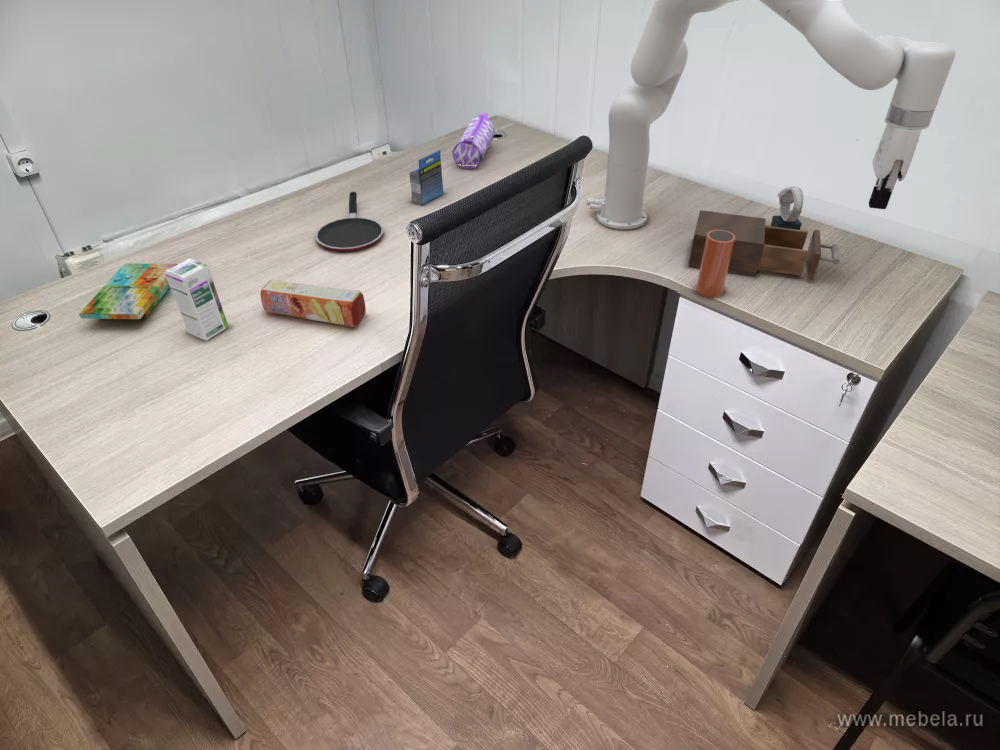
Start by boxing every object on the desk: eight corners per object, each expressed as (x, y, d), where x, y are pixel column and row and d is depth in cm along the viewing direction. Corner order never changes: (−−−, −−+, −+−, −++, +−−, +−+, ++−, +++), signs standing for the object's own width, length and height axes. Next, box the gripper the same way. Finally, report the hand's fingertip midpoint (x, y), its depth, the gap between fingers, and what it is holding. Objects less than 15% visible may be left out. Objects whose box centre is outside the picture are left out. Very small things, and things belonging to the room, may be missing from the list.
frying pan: (322, 204, 180) (319, 192, 178) (383, 200, 182) (382, 188, 180) (313, 256, 159) (311, 243, 156) (384, 250, 160) (382, 238, 158)
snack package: (262, 316, 139) (254, 288, 135) (279, 299, 144) (272, 271, 140) (355, 332, 134) (350, 304, 130) (369, 314, 139) (365, 286, 135)
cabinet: (757, 250, 158) (765, 218, 153) (755, 276, 149) (764, 244, 144) (693, 241, 162) (699, 210, 157) (688, 266, 153) (694, 234, 148)
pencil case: (482, 172, 196) (481, 139, 190) (451, 170, 197) (449, 137, 191) (495, 144, 212) (495, 113, 206) (466, 142, 214) (465, 112, 208)
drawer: (832, 258, 153) (840, 232, 149) (834, 283, 145) (843, 257, 141) (750, 246, 158) (756, 222, 154) (748, 270, 149) (754, 245, 145)
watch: (789, 223, 168) (801, 181, 161) (800, 238, 162) (813, 195, 155) (767, 223, 168) (778, 181, 162) (777, 239, 162) (789, 195, 155)
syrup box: (206, 342, 133) (183, 278, 123) (186, 333, 135) (162, 269, 126) (229, 327, 136) (208, 264, 127) (209, 319, 139) (188, 256, 130)
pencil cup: (694, 295, 144) (705, 240, 135) (697, 282, 148) (708, 227, 139) (721, 299, 142) (734, 244, 134) (723, 286, 146) (736, 231, 138)
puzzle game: (176, 260, 148) (135, 310, 133) (183, 278, 151) (143, 330, 136) (124, 259, 149) (77, 310, 133) (132, 278, 152) (86, 329, 136)
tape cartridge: (433, 190, 186) (429, 146, 178) (444, 194, 184) (441, 149, 176) (411, 202, 181) (407, 157, 173) (422, 205, 179) (418, 160, 171)
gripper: (883, 101, 133) (854, 190, 145) (891, 127, 122) (859, 220, 134) (925, 104, 131) (892, 194, 143) (937, 130, 120) (901, 225, 132)
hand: (876, 206), depth 138 cm, fingers closed
